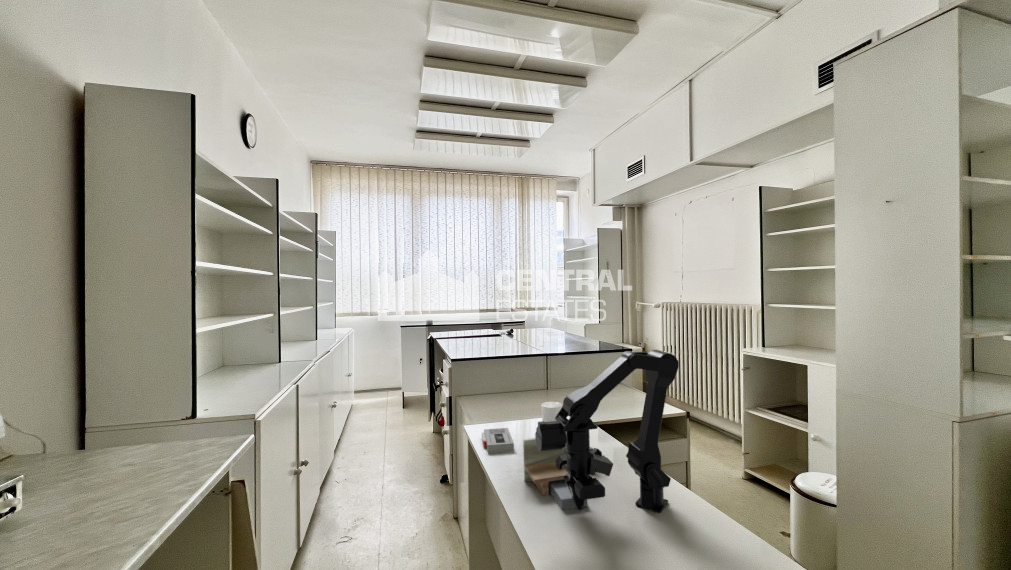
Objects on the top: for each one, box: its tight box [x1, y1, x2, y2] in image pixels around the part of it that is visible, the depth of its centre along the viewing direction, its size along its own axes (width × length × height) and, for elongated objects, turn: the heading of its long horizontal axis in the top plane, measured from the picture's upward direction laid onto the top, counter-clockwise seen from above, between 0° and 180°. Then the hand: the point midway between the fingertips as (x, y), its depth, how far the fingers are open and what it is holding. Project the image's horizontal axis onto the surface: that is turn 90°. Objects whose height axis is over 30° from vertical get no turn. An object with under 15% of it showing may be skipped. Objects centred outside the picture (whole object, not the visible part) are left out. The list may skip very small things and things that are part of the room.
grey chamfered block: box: [548, 479, 588, 510], centre depth 116 cm, size 16×7×2 cm, turn 12°
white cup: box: [541, 401, 563, 422], centre depth 165 cm, size 8×8×10 cm
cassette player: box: [481, 427, 515, 454], centre depth 153 cm, size 16×3×10 cm
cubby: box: [522, 437, 567, 496], centre depth 121 cm, size 10×16×12 cm, turn 104°
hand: (579, 509), depth 106 cm, fingers closed
